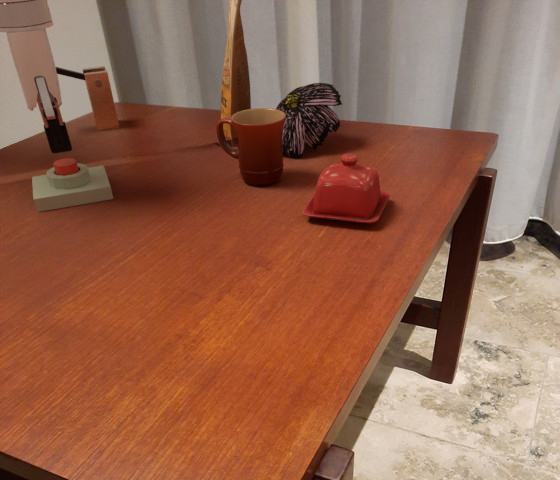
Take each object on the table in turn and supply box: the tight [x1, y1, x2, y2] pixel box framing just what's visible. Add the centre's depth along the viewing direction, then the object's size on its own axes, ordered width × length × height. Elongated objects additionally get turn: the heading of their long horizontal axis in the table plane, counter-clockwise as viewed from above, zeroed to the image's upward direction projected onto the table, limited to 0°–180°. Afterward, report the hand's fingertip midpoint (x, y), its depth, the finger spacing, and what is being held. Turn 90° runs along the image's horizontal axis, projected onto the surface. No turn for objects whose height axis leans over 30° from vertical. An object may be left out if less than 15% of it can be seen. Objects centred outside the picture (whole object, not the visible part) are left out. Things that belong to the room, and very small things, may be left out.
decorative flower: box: [275, 82, 343, 160], centre depth 103 cm, size 15×12×15 cm
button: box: [53, 157, 79, 176], centre depth 90 cm, size 4×4×2 cm
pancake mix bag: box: [220, 0, 252, 147], centre depth 104 cm, size 7×19×28 cm, turn 179°
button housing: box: [31, 162, 114, 213], centre depth 92 cm, size 12×10×4 cm
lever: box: [55, 66, 93, 82], centre depth 108 cm, size 12×5×2 cm, turn 110°
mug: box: [215, 107, 286, 187], centre depth 92 cm, size 12×9×10 cm
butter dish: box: [302, 153, 391, 224], centre depth 81 cm, size 12×12×8 cm
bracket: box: [81, 65, 120, 132], centre depth 113 cm, size 12×10×12 cm
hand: (62, 150), depth 88 cm, fingers closed
